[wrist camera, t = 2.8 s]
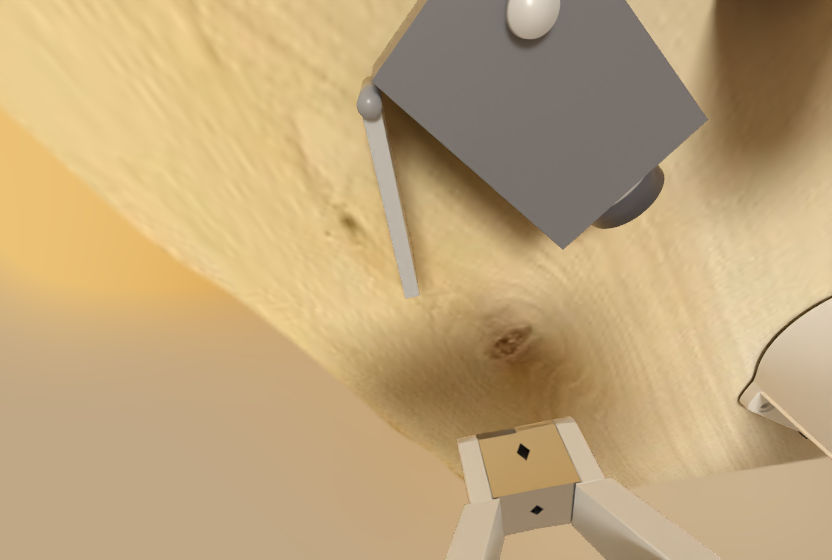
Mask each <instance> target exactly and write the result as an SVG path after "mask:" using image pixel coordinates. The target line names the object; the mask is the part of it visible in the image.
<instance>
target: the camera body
mask: <svg viewBox="0 0 832 560" xmlns="http://www.w3.org/2000/svg"><path fill="white" fill-rule="evenodd" d="M371 82H372V83H374V84H375V85H376V86H377V87H378V88H379V89H380V90H382V91H383V92H384V93H385V94H386V95H387V96H388V97H389V98H390V99H392V100H393V101H394V102H395V103H396V104H397V105H398V106H400V107H401V108H402V109H403V110H404V111H405V112H406V113H408V114H409V115H410V116H411V117H412V118H413V119H414V120H416V121H417V122H418V123H419V124H420V125H421V126H422V127H423V128H425V129H426V130H427V131H428V132H429V133H430V134H431V135H433V136H434V137H435V138H436V139H437V140H438V141H439V142H441V143H442V144H443V145H444V146H445V147H446V148H447V149H449V150H450V151H451V152H452V153H453V154H454V155H455V156H457V157H458V158H459V159H460V160H461V161H462V162H463V163H464V164H466V165H467V166H468V167H469V168H470V169H471V170H472V171H474V172H475V173H476V174H477V175H478V176H479V177H480V178H482V179H483V180H484V181H485V182H486V183H487V184H488V185H490V186H491V187H492V188H493V189H494V190H495V191H496V192H498V193H499V194H500V195H501V196H502V197H503V198H504V199H506V200H507V201H508V202H509V203H510V204H511V205H512V206H513V207H515V208H516V209H517V210H518V211H519V212H520V213H521V214H523V215H524V216H525V217H526V218H527V219H528V220H529V221H531V222H532V223H533V224H534V225H535V226H536V227H538V228H539V229H540V230H541V231H542V232H543V233H544V234H546V235H547V236H548V237H549V238H550V239H551V240H552V241H554V242H555V243H556V244H557V245H558V246H559V247H560V248H562V249H564V248H566V247H567V246H568V245H569V244H570V243H571V242H572V241H573V240H574V239H576V238H577V237H578V236H579V235H580V234H581V233H582V232H583V231H585V230H586V229H587V228H588V227H589V226H590V225H593V226H594V227H597V228H602V229H607V228H614V227H618V226H620V225H623V224H625V223H628V222H630V221H631V220H633V219H635V218H636V217H638V216H639V215H641V214H642V213H643V212H644V211H645V210H647V209H648V208H649V207H650V206H651V205H652V203H653V202H654V201H655V200H656V198H657V197H658V195H659V194H660V192H661V190H662V187H663V184H664V173H663V171H662V169H661V168H660V167H659V166H658V164H659V163H660V162H661V161H663V160H664V159H665V158H666V157H667V156H668V155H669V154H670V153H671V152H673V151H674V150H675V149H676V148H677V147H678V146H679V145H680V144H681V143H683V142H684V141H685V140H686V139H687V138H688V137H689V136H690V135H692V134H693V133H694V132H695V131H696V130H697V129H698V128H699V127H700V126H702V125H703V124H704V123H705V122H706V121H707V120H708V119H707V117H706V116H705V114H704V113H703V112H702V110H701V109H700V107H699V106H698V104H697V103H696V101H695V100H694V99H693V97H692V96H691V94H690V93H689V91H688V90H687V88H686V87H685V86H684V84H683V83H682V81H681V80H680V78H679V77H678V75H677V74H676V73H675V71H674V70H673V68H672V67H671V65H670V64H669V62H668V61H667V60H666V58H665V57H664V55H663V54H662V52H661V51H660V49H659V48H658V47H657V45H656V44H655V42H654V41H653V39H652V38H651V37H650V35H649V34H648V32H647V31H646V29H645V28H644V26H643V25H642V24H641V22H640V21H639V19H638V18H637V16H636V15H635V13H634V12H633V11H632V9H631V8H630V6H629V5H628V3H627V2H626V0H418V2H417V3H416V4H415V6H414V7H413V9H412V10H411V12H410V13H409V15H408V16H407V18H406V19H405V20H404V22H403V23H402V25H401V26H400V28H399V29H398V31H397V32H396V34H395V35H394V36H393V38H392V39H391V41H390V42H389V44H388V45H387V47H386V48H385V50H384V51H383V52H382V54H381V55H380V57H379V58H378V60H377V61H376V63H375V64H374V66H373V71H372V78H371Z"/></svg>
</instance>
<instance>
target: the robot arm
mask: <svg viewBox="0 0 832 560" xmlns="http://www.w3.org/2000/svg"><path fill="white" fill-rule="evenodd" d="M740 403H741V404H742V405H743V406H744V407H746V408H747V409H748V410H749V411H751V412H754V413H756V414H758V415H761V416H763V417H765V418H768V419H770V420H772V421H775V422H777V423H779V424H781V425H784V426H786V427H788V428H791V429H793V430H795V431H798V432H799V433H800V434H801V435H802V436H803V437H805V438H806V439H809V440H811V441H812V442H813V443H814V444H816V445H817V446H818V447H819V448H820V449H821V450H822V451H823V452H824V453H825V454H826V455H827V456H829V457H830V458H831V459H832V298H831V299H829V300H827V301H825V302H824V303H822V304H820V305H818V306H817V307H815V308H813V309H812V310H810V311H809V312H807V313H806V314H804V315H803V316H801V317H800V318H799V319H797V320H796V321H795V322H794V323H792V324H791V325H790V326H789V327H788V328H787V329H785V330H784V331H783V332H782V333H781V334H780V335H779V336H778V337H777V338H776V339H775V341H774V342H773V343H772V344H771V345H770V347H769V348H768V349H767V351H766V352H765V354H764V356H763V357H762V359H761V361H760V364H759V366H758V370H757V373H756V376H755V379H754V381H753V382H752V383H751V384H750V386H749V387H748V388H747V389H746V390H745V392H744V393H743V394H742V396H741V398H740ZM457 444H458V449H459V455H460V460H461V465H462V470H463V475H464V481H465V486H466V490H467V495H468V500H469V504H465V505H464V506H463V509H462V512H461V515H460V518H459V521H458V524H457V526H456V529H455V532H454V535H453V538H452V541H451V544H450V547H449V550H448V552H447V555H446V558H445V560H500V555H501V551H502V546H503V542H504V536H506V535H510V534H515V533H519V532H524V531H528V530H533V529H537V528H544V527H550V526H557V525H563V524H569V523H572V526H573V527H574V528H575V529H576V530H577V531H578V532H579V533H580V534H581V535H582V536H583V537H584V538H585V539H586V540H587V541H588V542H589V543H590V544H591V545H592V546H593V547H594V548H595V549H596V550H597V551H598V552H599V553H600V554H601V555H602V556H603V557H604V558H605V559H606V560H721V559H720V558H719V556H718V555H716V554H715V553H714V552H712V551H711V550H710V549H708V548H707V547H706V546H704V545H703V544H702V543H700V542H699V541H697V540H696V539H695V538H693V537H692V536H690V535H689V534H688V533H686V532H685V531H684V530H683V529H681V528H680V527H679V526H677V525H676V524H674V523H673V522H672V521H670V520H669V519H667V518H666V517H665V516H664V515H662V514H661V513H659V512H658V511H657V510H656V509H654V508H653V507H651V506H650V505H649V504H647V503H646V502H645V501H643V500H642V499H641V498H639V497H638V496H637V495H635V494H634V493H633V492H631V491H630V490H629V489H627V488H626V487H624V486H623V485H622V484H620V483H619V482H618V481H616V480H615V479H614V478H612V477H606V478H605V476H604V474H603V473H602V471H601V469H600V467H599V465H598V463H597V461H596V459H595V457H594V455H593V453H592V452H591V450H590V448H589V446H588V444H587V442H586V440H585V438H584V436H583V434H582V432H581V431H580V429H579V427H578V425H577V423H576V421H575V420H574V419H573V418H572V417H571V416H567V417H562V418H557V419H552V420H545V421H540V422H536V423H531V424H526V425H521V426H517V427H513V428H509V429H503V430H498V431H493V432H487V433H482V434H475V435H470V436H465V437H460V438H457Z"/></svg>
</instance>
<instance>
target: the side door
mask: <svg viewBox="0 0 832 560" xmlns="http://www.w3.org/2000/svg"><path fill="white" fill-rule="evenodd" d="M371 78H372V76H370V77H367V78H365V79H364V81H363V83H362V87H361V90H360V94H359V98H358V101H357V109H358V112H359V113H360V115H361V116H363V121H364V125H365V129H366V133H367V138H368V142H369V146H370V150H371V155H372V159H373V163H374V167H375V172H376V176H377V180H378V184H379V189H380V193H381V197H382V201H383V206H384V210H385V214H386V218H387V223H388V227H389V231H390V235H391V240H392V244H393V248H394V252H395V257H396V261H397V265H398V269H399V274H400V278H401V282H402V286H403V291H404V295H405V298H410V297H416V296H420V295H419V289H418V282H417V276H416V269H415V263H414V256H413V250H412V245H411V240H410V235H409V230H408V226H407V221H406V216H405V211H404V206H403V201H402V196H401V192H400V187H399V182H398V177H397V172H396V167H395V162H394V157H393V153H392V148H391V143H390V138H389V133H388V128H387V123H386V118H385V114H384V109H383V104H382V99H381V90H380V89H379V88H378V87H377V86H376V85H375V84H374V83H372V82H371Z"/></svg>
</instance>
